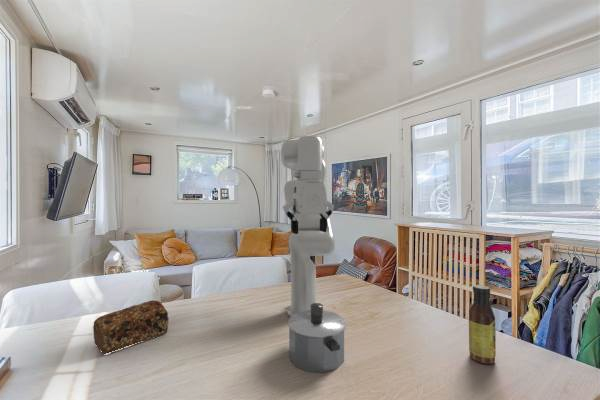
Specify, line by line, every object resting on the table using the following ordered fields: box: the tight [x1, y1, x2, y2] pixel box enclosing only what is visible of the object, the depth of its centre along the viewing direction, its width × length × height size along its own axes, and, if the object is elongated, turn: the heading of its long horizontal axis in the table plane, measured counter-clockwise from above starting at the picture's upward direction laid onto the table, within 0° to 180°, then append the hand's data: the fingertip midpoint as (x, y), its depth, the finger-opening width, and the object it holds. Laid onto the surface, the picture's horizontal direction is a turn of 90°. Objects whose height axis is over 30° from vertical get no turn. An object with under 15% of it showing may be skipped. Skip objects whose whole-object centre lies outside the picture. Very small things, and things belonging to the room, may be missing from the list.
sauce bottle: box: [468, 284, 497, 365], centre depth 79 cm, size 6×6×20 cm
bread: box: [92, 300, 169, 355], centre depth 90 cm, size 19×11×10 cm, turn 138°
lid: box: [287, 302, 346, 338], centre depth 81 cm, size 16×16×5 cm
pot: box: [288, 327, 345, 374], centre depth 81 cm, size 20×15×9 cm
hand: (309, 232), depth 89 cm, fingers open, 9 cm apart
